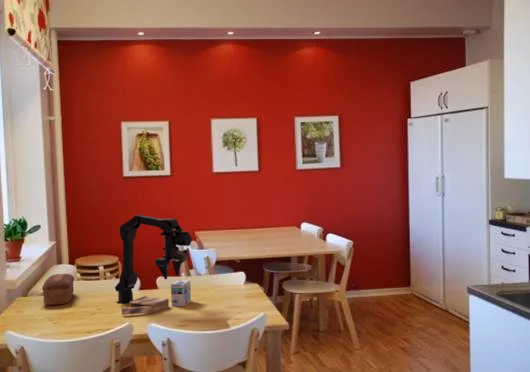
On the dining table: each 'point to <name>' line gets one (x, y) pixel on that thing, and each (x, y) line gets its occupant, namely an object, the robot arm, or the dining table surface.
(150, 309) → the flap
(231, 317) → the dining table surface
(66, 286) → the bread
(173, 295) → the light bulb box
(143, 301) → the brown piece
